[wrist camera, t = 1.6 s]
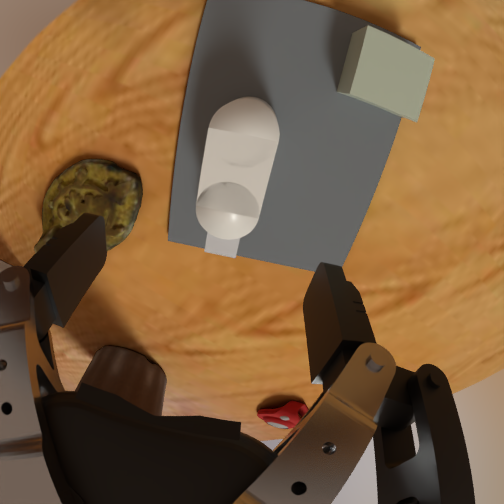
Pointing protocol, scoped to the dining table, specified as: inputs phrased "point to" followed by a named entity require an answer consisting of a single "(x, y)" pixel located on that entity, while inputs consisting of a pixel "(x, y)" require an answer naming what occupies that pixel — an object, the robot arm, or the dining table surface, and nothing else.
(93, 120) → the dining table surface
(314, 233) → the mat
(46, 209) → the olive teardrop lump
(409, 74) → the block
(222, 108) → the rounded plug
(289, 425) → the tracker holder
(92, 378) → the plant pot
